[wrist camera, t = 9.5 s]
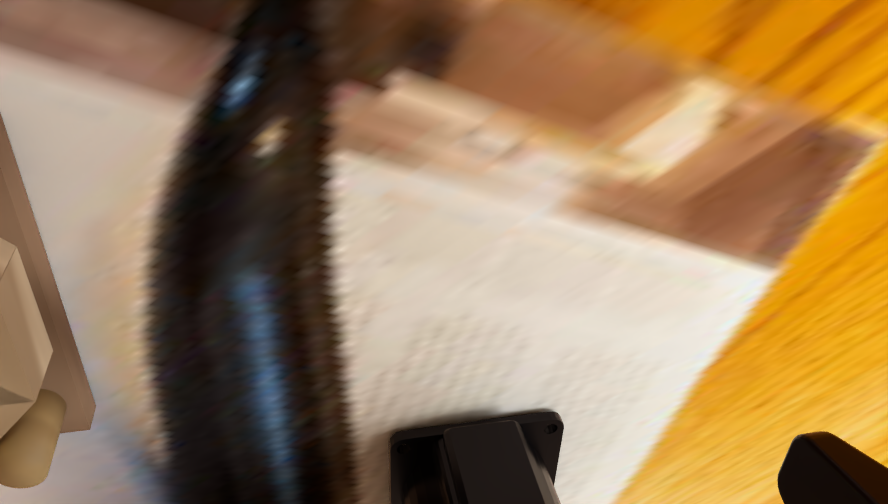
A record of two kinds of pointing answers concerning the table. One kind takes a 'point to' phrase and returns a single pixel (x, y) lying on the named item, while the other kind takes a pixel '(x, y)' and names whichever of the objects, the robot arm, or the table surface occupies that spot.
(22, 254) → the beige octagonal holder
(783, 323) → the table surface
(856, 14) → the table surface
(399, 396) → the table surface
